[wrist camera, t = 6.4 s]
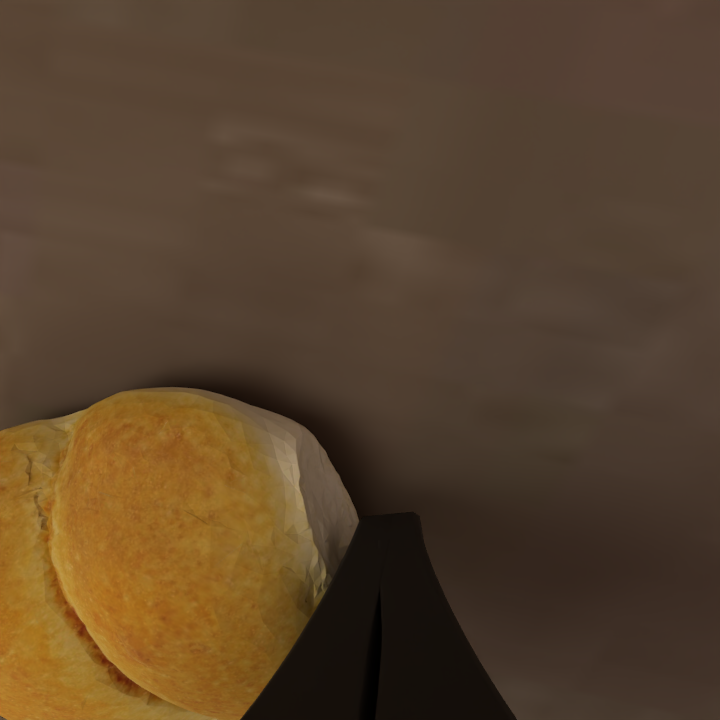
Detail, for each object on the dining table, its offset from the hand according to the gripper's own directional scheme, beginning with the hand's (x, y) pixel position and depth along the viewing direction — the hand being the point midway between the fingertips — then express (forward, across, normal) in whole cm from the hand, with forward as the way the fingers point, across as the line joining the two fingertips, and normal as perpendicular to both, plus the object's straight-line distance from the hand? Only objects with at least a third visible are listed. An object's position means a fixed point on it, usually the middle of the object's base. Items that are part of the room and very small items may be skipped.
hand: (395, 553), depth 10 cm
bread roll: (+2, +5, 0) cm, 5 cm away
